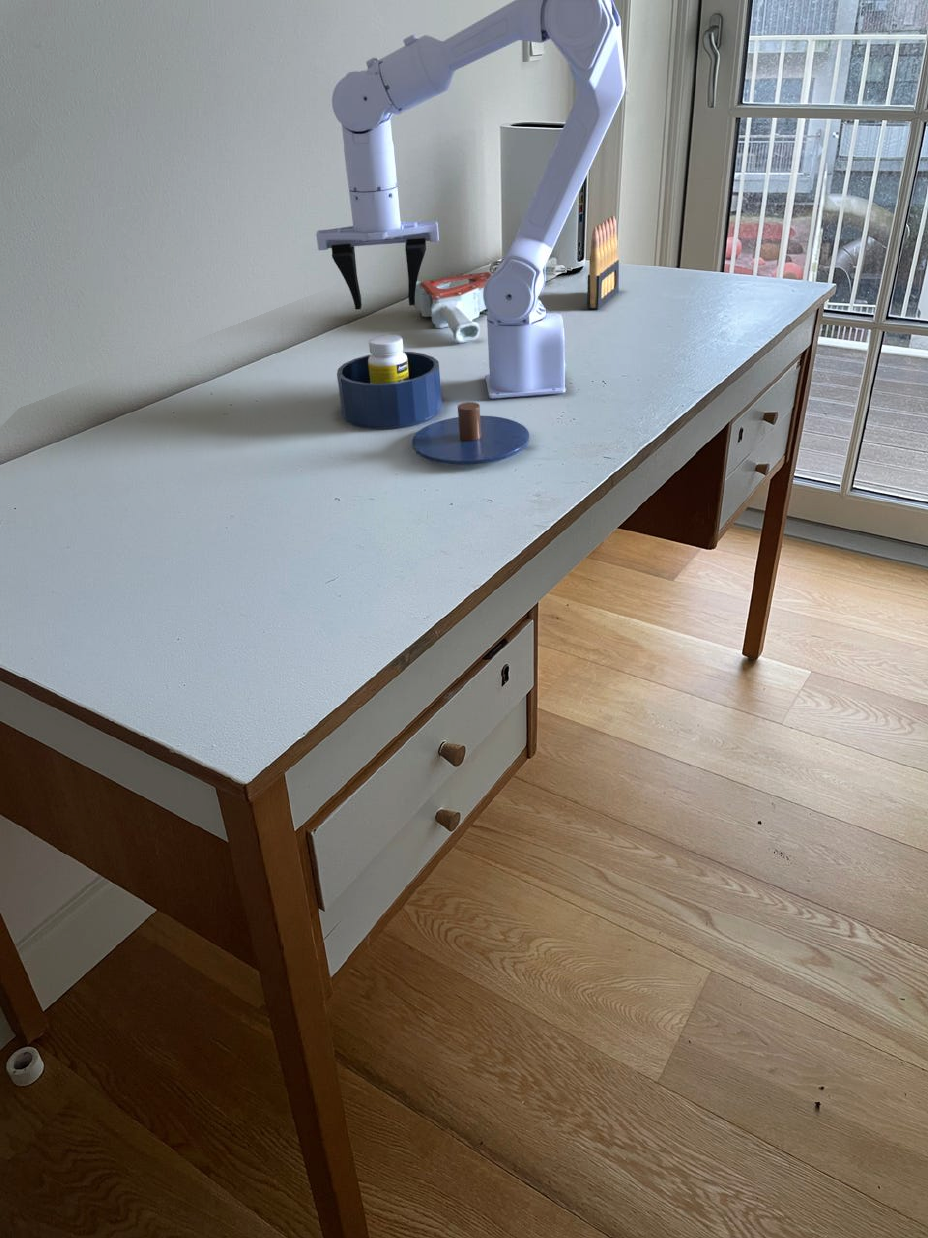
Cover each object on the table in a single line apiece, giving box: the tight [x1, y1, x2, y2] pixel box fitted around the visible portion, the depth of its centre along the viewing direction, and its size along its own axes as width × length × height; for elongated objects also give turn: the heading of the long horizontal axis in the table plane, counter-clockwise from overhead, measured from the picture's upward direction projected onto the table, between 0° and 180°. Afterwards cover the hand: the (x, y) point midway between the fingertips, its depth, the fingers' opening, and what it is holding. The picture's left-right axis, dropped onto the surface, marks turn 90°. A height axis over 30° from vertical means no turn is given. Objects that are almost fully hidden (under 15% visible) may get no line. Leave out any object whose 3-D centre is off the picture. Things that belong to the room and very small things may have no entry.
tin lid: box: [411, 401, 530, 466], centre depth 108 cm, size 13×13×5 cm
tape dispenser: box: [413, 271, 492, 344], centre depth 149 cm, size 18×5×20 cm
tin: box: [336, 351, 443, 430], centre depth 119 cm, size 12×12×5 cm
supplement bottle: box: [368, 334, 409, 384], centre depth 118 cm, size 5×5×8 cm
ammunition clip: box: [586, 214, 620, 311], centre depth 152 cm, size 11×2×12 cm, turn 155°
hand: (385, 305), depth 122 cm, fingers open, 6 cm apart
